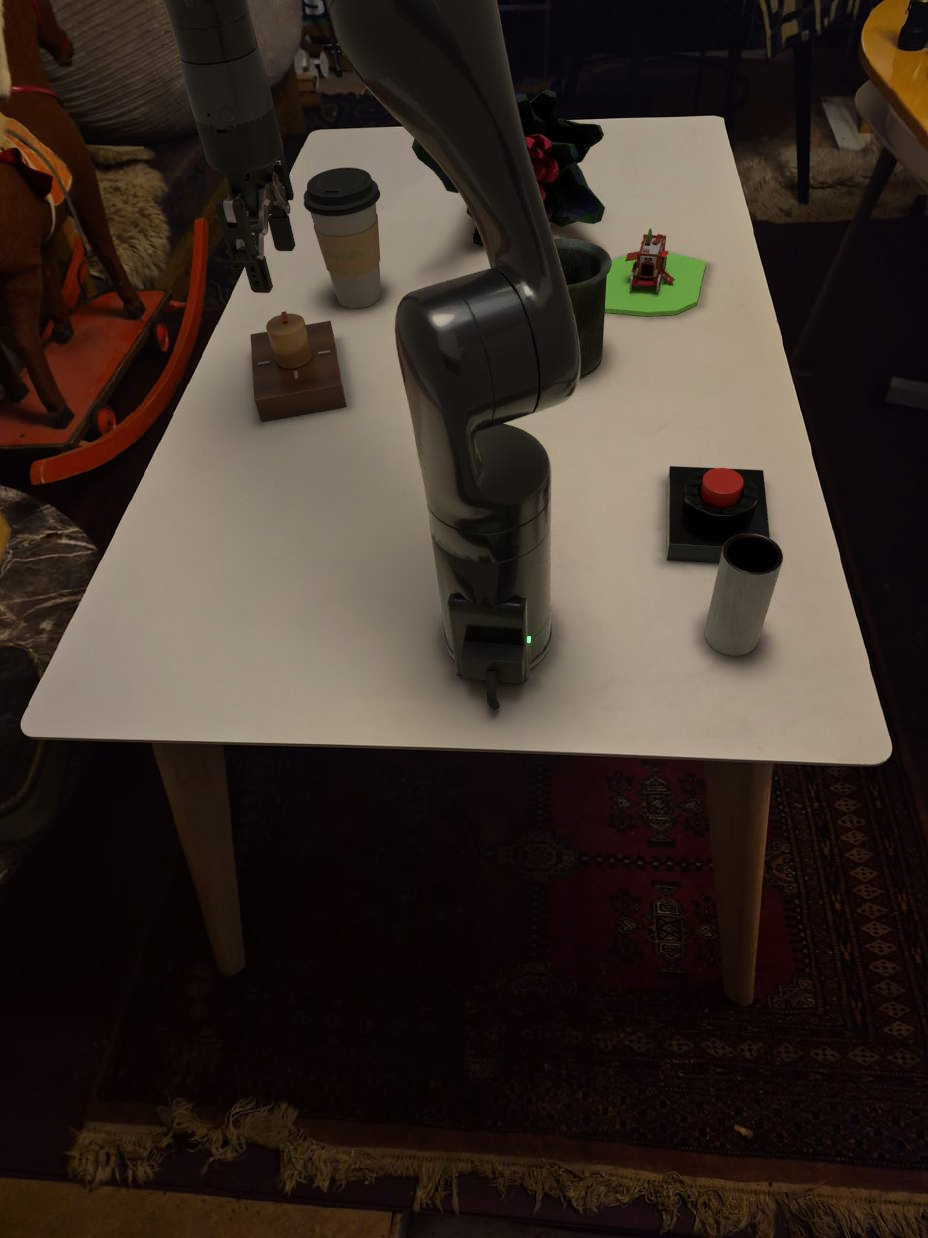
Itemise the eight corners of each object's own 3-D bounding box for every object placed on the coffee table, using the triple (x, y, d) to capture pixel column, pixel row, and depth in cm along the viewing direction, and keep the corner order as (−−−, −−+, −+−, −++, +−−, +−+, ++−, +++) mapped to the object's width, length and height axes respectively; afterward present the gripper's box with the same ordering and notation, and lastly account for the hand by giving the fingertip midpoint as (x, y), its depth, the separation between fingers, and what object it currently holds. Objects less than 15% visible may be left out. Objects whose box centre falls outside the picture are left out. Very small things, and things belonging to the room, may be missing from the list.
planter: (750, 613, 75) (774, 529, 67) (764, 654, 72) (790, 572, 65) (699, 617, 76) (716, 534, 68) (710, 658, 73) (730, 576, 65)
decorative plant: (565, 260, 135) (574, 313, 110) (410, 195, 131) (383, 235, 106) (625, 118, 124) (650, 142, 99) (456, 42, 120) (439, 47, 95)
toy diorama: (707, 259, 114) (713, 212, 109) (693, 320, 105) (699, 272, 101) (595, 251, 118) (597, 206, 113) (572, 309, 109) (573, 263, 104)
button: (741, 508, 79) (744, 494, 77) (700, 506, 79) (703, 492, 78) (739, 482, 81) (742, 468, 80) (700, 480, 81) (702, 466, 80)
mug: (601, 387, 98) (606, 289, 89) (476, 380, 101) (469, 284, 91) (610, 334, 105) (616, 238, 95) (493, 329, 107) (487, 235, 98)
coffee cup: (331, 321, 111) (306, 205, 100) (319, 286, 117) (294, 173, 106) (401, 306, 112) (385, 189, 101) (386, 272, 118) (369, 158, 107)
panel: (346, 406, 99) (341, 383, 97) (261, 422, 99) (253, 399, 96) (335, 341, 108) (330, 318, 106) (256, 355, 108) (249, 332, 105)
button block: (766, 566, 79) (775, 535, 76) (666, 560, 80) (671, 530, 77) (759, 486, 86) (767, 455, 83) (667, 482, 87) (671, 451, 84)
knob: (314, 364, 100) (305, 327, 96) (276, 371, 100) (266, 334, 96) (311, 344, 103) (302, 307, 99) (274, 350, 102) (264, 314, 99)
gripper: (220, 77, 85) (261, 236, 97) (167, 138, 76) (220, 305, 89) (292, 75, 84) (325, 237, 96) (247, 137, 75) (289, 306, 87)
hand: (274, 269), depth 92 cm, fingers open, 8 cm apart
